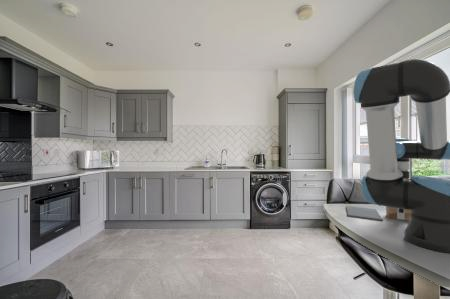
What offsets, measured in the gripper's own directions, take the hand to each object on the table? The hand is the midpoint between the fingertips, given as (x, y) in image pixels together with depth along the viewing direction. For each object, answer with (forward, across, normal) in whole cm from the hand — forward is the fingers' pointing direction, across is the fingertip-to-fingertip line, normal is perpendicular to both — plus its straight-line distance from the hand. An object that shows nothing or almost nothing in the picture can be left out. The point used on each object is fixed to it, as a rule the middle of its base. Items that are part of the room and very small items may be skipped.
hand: (398, 217), depth 104 cm
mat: (0, 0, +15) cm, 15 cm away
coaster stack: (0, 0, 0) cm, 0 cm away
